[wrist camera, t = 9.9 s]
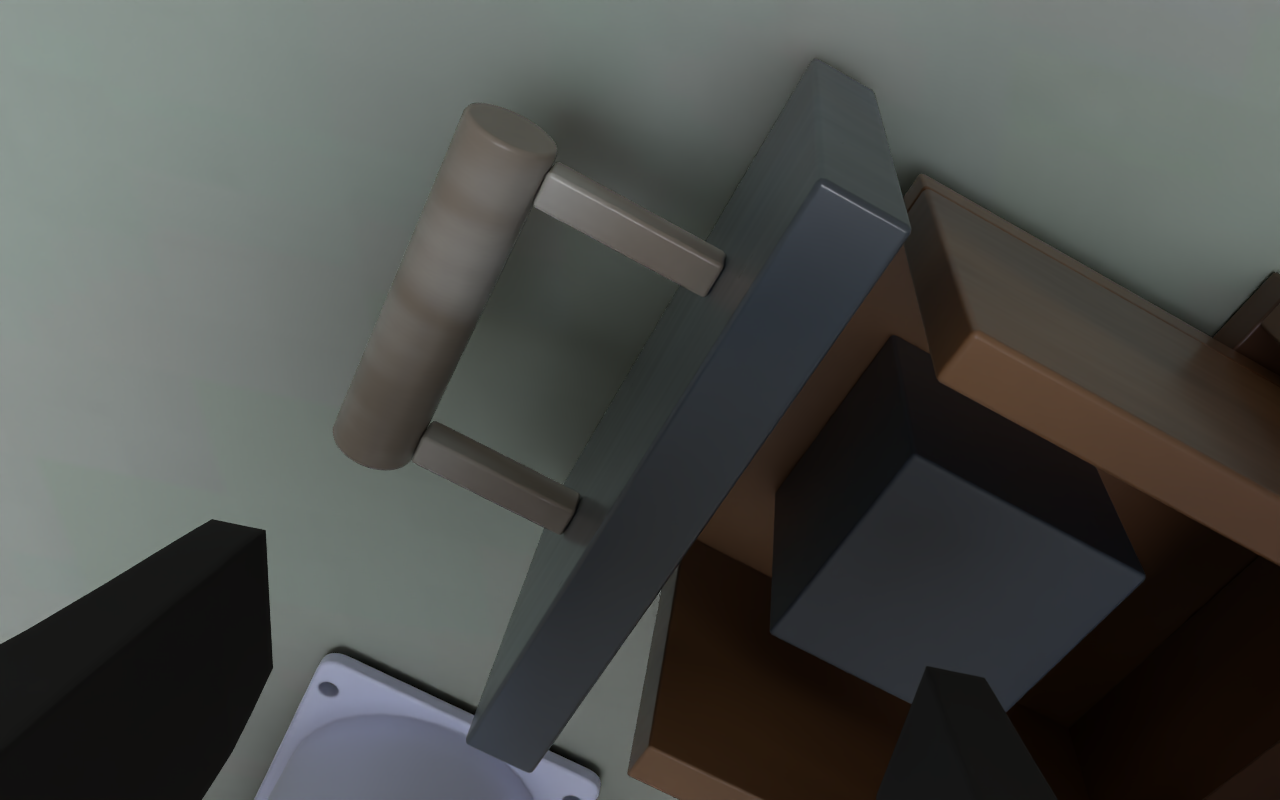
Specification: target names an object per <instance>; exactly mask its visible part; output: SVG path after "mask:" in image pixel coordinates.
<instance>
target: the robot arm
mask: <svg viewBox="0 0 1280 800" xmlns="http://www.w3.org/2000/svg"><path fill="white" fill-rule="evenodd" d="M272 669H273V659H272V640H271V622H270V603H269V584H268V565H267V546H266V530H262V529H257V528H252V527H247V526H242V525H237V524H232V523H228V522H223V521H218V520H213V519H212V520H210V521H208V522H207V523H205V524H203V525H201V526H200V527H198V528H196V529H194V530H193V531H191V532H189V533H188V534H186V535H184V536H183V537H181V538H179V539H178V540H176V541H174V542H173V543H171V544H169V545H168V546H166V547H164V548H163V549H161V550H159V551H158V552H156V553H155V554H153V555H151V556H150V557H148V558H146V559H145V560H143V561H142V562H140V563H138V564H137V565H135V566H133V567H132V568H130V569H128V570H127V571H125V572H124V573H122V574H120V575H119V576H117V577H115V578H114V579H112V580H110V581H109V582H107V583H106V584H104V585H102V586H100V587H99V588H97V589H95V590H94V591H92V592H90V593H89V594H87V595H85V596H84V597H82V598H80V599H79V600H77V601H75V602H73V603H72V604H70V605H68V606H67V607H65V608H63V609H62V610H60V611H58V612H57V613H55V614H53V615H52V616H50V617H48V618H46V619H45V620H43V621H41V622H40V623H38V624H36V625H35V626H33V627H31V628H29V629H28V630H26V631H24V632H22V633H20V634H19V635H17V636H15V637H13V638H11V639H9V640H7V641H6V642H4V643H2V644H0V800H202V799H203V797H204V796H205V794H206V792H207V791H208V789H209V788H210V786H211V785H212V783H213V782H214V780H215V778H216V777H217V775H218V774H219V772H220V771H221V769H222V767H223V766H224V764H225V763H226V761H227V759H228V758H229V756H230V755H231V753H232V751H233V749H234V747H235V745H236V743H237V741H238V739H239V737H240V735H241V733H242V731H243V729H244V727H245V725H246V723H247V721H248V719H249V717H250V716H251V713H252V711H253V709H254V707H255V705H256V703H257V701H258V699H259V696H260V694H261V692H262V690H263V688H264V686H265V684H266V682H267V679H268V677H269V675H270V673H271V671H272ZM329 682H330V683H333V684H334V685H332V684H330V683H329ZM473 718H474V715H473V714H470V713H468V712H466V711H464V710H462V709H460V708H458V707H455V706H453V705H451V704H449V703H447V702H445V701H443V700H441V699H438V698H436V697H434V696H432V695H430V694H428V693H426V692H423V691H421V690H419V689H417V688H415V687H413V686H411V685H409V684H406V683H404V682H402V681H400V680H398V679H396V678H394V677H391V676H389V675H387V674H385V673H383V672H381V671H379V670H377V669H374V668H372V667H370V666H368V665H366V664H364V663H362V662H359V661H357V660H355V659H353V658H351V657H349V656H347V655H344V654H340V653H330V654H328V655H326V656H325V657H324V658H323V659H322V660H321V662H320V664H319V666H318V667H317V669H316V671H315V673H314V676H313V678H312V680H311V682H310V684H309V686H308V688H307V690H306V692H305V694H304V696H303V699H302V701H301V703H300V705H299V707H298V709H297V711H296V713H295V715H294V717H293V719H292V722H291V724H290V726H289V728H288V730H287V732H286V734H285V736H284V738H283V740H282V742H281V744H280V747H279V749H278V751H277V753H276V755H275V757H274V759H273V761H272V763H271V765H270V767H269V770H268V772H267V774H266V776H265V778H264V780H263V782H262V784H261V786H260V788H259V790H258V793H257V795H256V797H255V799H254V800H596V799H597V798H598V795H599V792H600V787H601V781H600V778H599V777H598V775H597V774H596V773H594V772H593V771H591V770H590V769H588V768H586V767H583V766H581V765H579V764H577V763H575V762H573V761H571V760H568V759H566V758H564V757H562V756H560V755H558V754H556V753H554V752H551V751H549V750H548V751H547V753H546V754H545V756H544V757H543V758H542V760H541V761H540V763H539V764H538V766H537V767H536V768H535V770H534V771H533V772H532V773H527V772H525V771H523V770H521V769H518V768H516V767H514V766H512V765H510V764H508V763H506V762H503V761H501V760H499V759H497V758H495V757H493V756H490V755H488V754H486V753H484V752H482V751H480V750H478V749H475V748H473V747H471V746H469V745H468V744H467V743H466V737H467V734H468V731H469V729H470V726H471V723H472V720H473ZM571 795H572V796H571ZM574 796H576V797H574ZM876 800H1058V799H1057V798H1056V796H1055V794H1054V793H1053V791H1052V789H1051V788H1050V786H1049V784H1048V783H1047V781H1046V779H1045V778H1044V776H1043V774H1042V773H1041V771H1040V769H1039V768H1038V766H1037V764H1036V763H1035V761H1034V759H1033V758H1032V756H1031V754H1030V753H1029V751H1028V749H1027V748H1026V746H1025V744H1024V743H1023V741H1022V739H1021V737H1020V736H1019V734H1018V732H1017V731H1016V729H1015V727H1014V726H1013V724H1012V722H1011V720H1010V719H1009V717H1008V715H1007V714H1006V712H1005V710H1004V709H1003V707H1002V705H1001V703H1000V702H999V700H998V698H997V697H996V695H995V693H994V692H993V690H992V688H991V687H990V685H989V684H988V682H987V681H986V679H985V678H983V677H978V676H974V675H969V674H964V673H959V672H954V671H949V670H944V669H939V668H935V667H930V666H926V668H925V671H924V674H923V676H922V679H921V681H920V684H919V687H918V689H917V692H916V694H915V697H914V699H913V702H912V705H911V707H910V710H909V712H908V715H907V717H906V720H905V723H904V725H903V728H902V730H901V733H900V736H899V738H898V741H897V743H896V746H895V748H894V751H893V754H892V756H891V759H890V761H889V764H888V766H887V769H886V772H885V774H884V777H883V779H882V782H881V784H880V787H879V790H878V792H877V795H876Z"/></svg>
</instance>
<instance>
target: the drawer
mask: <svg viewBox="0 0 1280 800" xmlns="http://www.w3.org/2000/svg"><path fill="white" fill-rule="evenodd" d="M556 156H557V146H556V144H555V142H554V140H553V139H552V138H551V137H550V136H549V135H548V134H547V133H546V132H545V131H544V130H543V129H541V128H540V127H539V126H537V125H536V124H535V123H533V122H532V121H530V120H528V119H527V118H525V117H523V116H521V115H519V114H517V113H515V112H513V111H510V110H508V109H505V108H502V107H499V106H496V105H492V104H486V103H472V104H470V105H468V106H467V107H466V108H465V109H464V111H463V113H462V116H461V118H460V121H459V123H458V125H457V128H456V130H455V133H454V135H453V138H452V140H451V142H450V145H449V147H448V150H447V152H446V155H445V157H444V159H443V162H442V164H441V167H440V169H439V171H438V174H437V176H436V179H435V181H434V184H433V186H432V188H431V191H430V193H429V196H428V198H427V200H426V203H425V205H424V208H423V210H422V213H421V215H420V217H419V220H418V222H417V225H416V227H415V229H414V232H413V234H412V237H411V239H410V242H409V244H408V246H407V249H406V251H405V254H404V256H403V258H402V261H401V263H400V266H399V268H398V271H397V273H396V275H395V278H394V280H393V283H392V285H391V287H390V290H389V292H388V295H387V297H386V300H385V302H384V304H383V307H382V309H381V312H380V314H379V316H378V319H377V321H376V324H375V326H374V329H373V331H372V333H371V336H370V338H369V341H368V343H367V345H366V348H365V350H364V353H363V355H362V358H361V360H360V362H359V365H358V367H357V370H356V372H355V374H354V377H353V379H352V382H351V384H350V387H349V389H348V391H347V394H346V396H345V399H344V401H343V403H342V406H341V408H340V411H339V413H338V416H337V418H336V420H335V423H334V426H333V437H334V440H335V443H336V445H337V446H338V448H339V449H340V450H341V451H342V452H343V453H344V454H345V455H346V456H347V457H348V458H350V459H351V460H353V461H354V462H356V463H358V464H360V465H363V466H365V467H368V468H372V469H377V470H395V469H399V468H401V467H403V466H405V465H406V464H408V463H409V462H410V461H411V460H412V462H414V463H415V464H417V465H419V466H421V467H423V468H425V469H427V470H429V471H431V472H433V473H435V474H437V475H439V476H441V477H443V478H445V479H447V480H449V481H451V482H453V483H455V484H457V485H459V486H461V487H463V488H465V489H467V490H469V491H471V492H473V493H475V494H477V495H479V496H481V497H483V498H485V499H487V500H489V501H491V502H493V503H495V504H497V505H499V506H501V507H503V508H505V509H507V510H509V511H511V512H514V513H516V514H518V515H520V516H522V517H524V518H526V519H528V520H530V521H532V522H534V523H536V524H538V525H540V526H542V527H544V529H543V532H542V535H541V537H540V540H539V543H538V546H537V548H536V551H535V554H534V556H533V559H532V562H531V564H530V567H529V570H528V572H527V575H526V578H525V581H524V583H523V586H522V589H521V591H520V594H519V597H518V599H517V602H516V605H515V607H514V610H513V613H512V616H511V618H510V621H509V624H508V626H507V629H506V632H505V634H504V637H503V640H502V642H501V645H500V648H499V651H498V653H497V656H496V659H495V661H494V664H493V667H492V669H491V672H490V675H489V677H488V680H487V683H486V686H485V688H484V691H483V694H482V696H481V699H480V702H479V704H478V707H477V710H476V712H475V715H474V718H473V720H472V723H471V726H470V729H469V731H468V734H467V737H466V743H467V744H468V745H469V746H471V747H473V748H475V749H478V750H480V751H482V752H484V753H486V754H488V755H490V756H493V757H495V758H497V759H499V760H501V761H503V762H506V763H508V764H510V765H512V766H514V767H516V768H518V769H521V770H523V771H525V772H527V773H532V772H533V771H534V770H535V768H536V767H537V766H538V764H539V763H540V761H541V760H542V758H543V757H544V756H545V754H546V753H547V751H548V750H549V748H550V747H551V746H552V744H553V743H554V741H555V740H556V738H557V737H558V736H559V734H560V733H561V731H562V730H563V728H564V727H565V726H566V724H567V723H568V721H569V720H570V718H571V717H572V716H573V714H574V713H575V711H576V710H577V709H578V707H579V706H580V704H581V703H582V701H583V700H584V699H585V697H586V696H587V694H588V693H589V691H590V690H591V689H592V687H593V686H594V684H595V683H596V681H597V680H598V679H599V677H600V676H601V674H602V673H603V671H604V670H605V669H606V667H607V666H608V664H609V663H610V662H611V660H612V659H613V657H614V656H615V654H616V653H617V652H618V650H619V649H620V647H621V646H622V644H623V643H624V642H625V640H626V639H627V637H628V636H629V634H630V633H631V632H632V630H633V629H634V627H635V626H636V624H637V623H638V622H639V620H640V619H641V617H642V616H643V614H644V613H645V612H646V610H647V609H648V607H649V606H650V605H651V603H652V602H653V600H654V599H655V597H656V596H657V595H658V593H659V592H660V590H661V589H662V590H661V595H660V600H659V606H658V611H657V616H656V622H655V627H654V632H653V638H652V643H651V649H650V654H649V659H648V665H647V670H646V675H645V681H644V686H643V691H642V697H641V702H640V708H639V713H638V718H637V724H636V729H635V734H634V740H633V745H632V750H631V756H630V761H629V767H628V772H627V774H628V775H629V776H630V777H632V778H634V779H637V780H639V781H641V782H643V783H645V784H647V785H649V786H652V787H654V788H656V789H658V790H660V791H662V792H664V793H666V794H669V795H671V796H673V797H675V798H677V799H679V800H876V795H877V792H878V790H879V787H880V784H881V782H882V779H883V777H884V774H885V772H886V769H887V766H888V764H889V761H890V759H891V756H892V754H893V751H894V748H895V746H896V743H897V741H898V738H899V736H900V733H901V730H902V728H903V725H904V723H905V720H906V717H907V715H908V712H909V710H910V707H911V705H912V704H910V703H908V702H906V701H904V700H902V699H900V698H898V697H896V696H894V695H892V694H890V693H888V692H886V691H884V690H882V689H880V688H878V687H876V686H874V685H872V684H870V683H868V682H866V681H863V680H861V679H859V678H857V677H855V676H853V675H851V674H849V673H847V672H845V671H843V670H841V669H839V668H837V667H835V666H833V665H831V664H829V663H827V662H825V661H823V660H821V659H819V658H817V657H815V656H813V655H811V654H809V653H807V652H805V651H803V650H801V649H799V648H797V647H795V646H793V645H791V644H789V643H787V642H785V641H783V640H781V639H779V638H777V637H775V636H773V635H772V634H771V633H770V610H771V586H772V562H773V538H774V514H775V494H776V492H777V491H778V489H779V488H780V487H781V485H782V484H783V483H784V481H785V480H786V478H787V477H788V476H789V474H790V473H791V472H792V470H793V469H794V468H795V466H796V465H797V463H798V462H799V461H800V459H801V458H802V457H803V455H804V454H805V453H806V451H807V450H808V448H809V447H810V446H811V444H812V443H813V442H814V440H815V439H816V438H817V436H818V435H819V433H820V432H821V431H822V429H823V428H824V427H825V425H826V424H827V423H828V421H829V420H830V419H831V417H832V416H833V414H834V413H835V412H836V410H837V409H838V408H839V406H840V405H841V404H842V402H843V401H844V399H845V398H846V397H847V395H848V394H849V393H850V391H851V390H852V389H853V387H854V386H855V384H856V383H857V382H858V380H859V379H860V378H861V376H862V375H863V374H864V372H865V371H866V369H867V368H868V367H869V365H870V364H871V363H872V361H873V360H874V359H875V357H876V356H877V354H878V353H879V352H880V350H881V349H882V348H883V346H884V345H885V344H886V342H887V341H888V339H889V338H890V337H891V336H892V335H895V336H897V337H899V338H901V339H903V340H905V341H907V342H908V343H910V344H912V345H914V346H916V347H918V348H919V349H921V350H923V351H925V352H927V353H929V354H930V355H931V359H932V363H933V367H934V371H935V375H936V378H937V380H938V381H939V382H940V383H942V384H944V385H946V386H947V387H949V388H951V389H953V390H955V391H957V392H959V393H960V394H962V395H964V396H966V397H968V398H970V399H971V400H973V401H975V402H977V403H979V404H981V405H983V406H984V407H986V408H988V409H990V410H992V411H994V412H995V413H997V414H999V415H1001V416H1003V417H1005V418H1007V419H1008V420H1010V421H1012V422H1014V423H1016V424H1018V425H1019V426H1021V427H1023V428H1025V429H1027V430H1029V431H1031V432H1032V433H1034V434H1036V435H1038V436H1040V437H1042V438H1043V439H1045V440H1047V441H1049V442H1051V443H1053V444H1055V445H1056V446H1058V447H1060V448H1062V449H1064V450H1066V451H1067V452H1069V453H1071V454H1073V455H1075V456H1077V457H1079V458H1080V459H1082V460H1084V461H1086V462H1088V463H1090V464H1091V465H1093V466H1095V467H1096V468H1097V470H1098V473H1099V475H1100V477H1101V479H1102V481H1103V483H1104V486H1105V488H1106V490H1107V492H1108V494H1109V496H1110V499H1111V501H1112V503H1113V505H1114V507H1115V509H1116V512H1117V514H1118V516H1119V518H1120V520H1121V522H1122V525H1123V527H1124V529H1125V531H1126V533H1127V535H1128V538H1129V540H1130V542H1131V544H1132V546H1133V548H1134V551H1135V553H1136V555H1137V557H1138V559H1139V561H1140V564H1141V566H1142V568H1143V570H1144V572H1145V574H1146V578H1145V580H1144V581H1143V582H1142V583H1141V584H1140V585H1139V586H1138V587H1137V588H1136V589H1135V590H1134V591H1133V592H1132V593H1131V594H1130V595H1129V596H1128V597H1127V598H1126V599H1125V600H1123V601H1122V602H1121V603H1120V604H1119V605H1118V606H1117V607H1116V608H1115V609H1114V610H1113V611H1112V612H1111V613H1110V614H1109V615H1108V616H1107V617H1106V618H1105V619H1104V620H1103V621H1101V622H1100V623H1099V624H1098V625H1097V626H1096V627H1095V628H1094V629H1093V630H1092V631H1091V632H1090V633H1089V634H1088V635H1087V636H1086V637H1085V638H1084V639H1083V640H1082V641H1081V642H1079V643H1078V644H1077V645H1076V646H1075V647H1074V648H1073V649H1072V650H1071V651H1070V652H1069V653H1068V654H1067V655H1066V656H1065V657H1064V658H1063V659H1062V660H1061V661H1060V662H1059V663H1057V664H1056V665H1055V666H1054V667H1053V668H1052V669H1051V670H1050V671H1049V672H1048V673H1047V674H1046V675H1045V676H1044V677H1043V678H1042V679H1041V680H1040V681H1039V682H1038V683H1037V684H1035V685H1034V686H1033V687H1032V688H1031V689H1030V690H1029V691H1028V692H1027V693H1026V694H1025V695H1024V696H1023V697H1022V698H1021V699H1020V700H1019V701H1018V702H1017V703H1016V704H1015V705H1013V706H1012V707H1011V708H1010V709H1009V710H1008V711H1007V712H1006V714H1007V715H1008V717H1009V719H1010V720H1011V722H1012V724H1013V726H1014V727H1015V729H1016V731H1017V732H1018V734H1019V736H1020V737H1021V739H1022V741H1023V743H1024V744H1025V746H1026V748H1027V749H1028V751H1029V753H1030V754H1031V756H1032V758H1033V759H1034V761H1035V763H1036V764H1037V766H1038V768H1039V769H1040V771H1041V773H1042V774H1043V776H1044V778H1045V779H1046V781H1047V783H1048V784H1049V786H1050V788H1051V789H1052V791H1053V793H1054V794H1055V796H1056V798H1057V799H1058V800H1202V799H1204V798H1205V797H1206V796H1208V795H1209V794H1210V793H1212V792H1213V791H1214V790H1215V789H1217V788H1218V787H1219V786H1221V785H1222V784H1223V783H1224V782H1226V781H1227V780H1228V779H1230V778H1231V777H1232V776H1234V775H1235V774H1236V773H1237V772H1239V771H1240V770H1241V769H1243V768H1244V767H1245V766H1247V765H1248V764H1249V763H1250V762H1252V761H1253V760H1254V759H1256V758H1257V757H1258V756H1259V755H1261V754H1262V753H1263V752H1265V751H1266V750H1267V749H1269V748H1270V747H1271V746H1272V745H1274V744H1275V743H1276V742H1278V741H1279V740H1280V376H1279V375H1277V374H1275V373H1274V372H1272V371H1270V370H1268V369H1266V368H1265V367H1263V366H1261V365H1259V364H1258V363H1256V362H1254V361H1252V360H1251V359H1249V358H1247V357H1245V356H1244V355H1242V354H1240V353H1238V352H1237V351H1235V350H1233V349H1231V348H1229V347H1228V346H1226V345H1224V344H1222V343H1221V342H1219V341H1217V340H1215V339H1214V338H1212V337H1210V336H1208V335H1207V334H1205V333H1203V332H1201V331H1200V330H1198V329H1196V328H1194V327H1192V326H1191V325H1189V324H1187V323H1185V322H1184V321H1182V320H1180V319H1178V318H1177V317H1175V316H1173V315H1171V314H1170V313H1168V312H1166V311H1164V310H1163V309H1161V308H1159V307H1157V306H1156V305H1154V304H1152V303H1150V302H1148V301H1147V300H1145V299H1143V298H1141V297H1140V296H1138V295H1136V294H1134V293H1133V292H1131V291H1129V290H1127V289H1126V288H1124V287H1122V286H1120V285H1119V284H1117V283H1115V282H1113V281H1111V280H1110V279H1108V278H1106V277H1104V276H1103V275H1101V274H1099V273H1097V272H1096V271H1094V270H1092V269H1090V268H1089V267H1087V266H1085V265H1083V264H1082V263H1080V262H1078V261H1076V260H1075V259H1073V258H1071V257H1069V256H1067V255H1066V254H1064V253H1062V252H1060V251H1059V250H1057V249H1055V248H1053V247H1052V246H1050V245H1048V244H1046V243H1045V242H1043V241H1041V240H1039V239H1038V238H1036V237H1034V236H1032V235H1030V234H1029V233H1027V232H1025V231H1023V230H1022V229H1020V228H1018V227H1016V226H1015V225H1013V224H1011V223H1009V222H1008V221H1006V220H1004V219H1002V218H1001V217H999V216H997V215H995V214H994V213H992V212H990V211H988V210H986V209H985V208H983V207H981V206H979V205H978V204H976V203H974V202H972V201H971V200H969V199H967V198H965V197H964V196H962V195H960V194H958V193H957V192H955V191H953V190H951V189H949V188H948V187H946V186H944V185H942V184H941V183H939V182H937V181H935V180H934V179H932V178H930V177H928V176H927V175H925V174H920V175H918V177H917V178H916V180H915V181H914V182H913V184H912V185H911V187H910V188H909V190H908V191H907V193H906V194H905V196H904V197H903V195H902V191H901V188H900V184H899V181H898V177H897V173H896V170H895V166H894V162H893V159H892V155H891V151H890V148H889V144H888V141H887V137H886V133H885V130H884V126H883V122H882V119H881V115H880V111H879V108H878V104H877V100H876V97H875V93H874V92H873V90H871V89H869V88H868V87H866V86H864V85H862V84H861V83H859V82H857V81H856V80H854V79H852V78H850V77H849V76H847V75H845V74H843V73H842V72H840V71H838V70H836V69H835V68H833V67H831V66H829V65H828V64H826V63H824V62H822V61H821V60H819V59H813V60H812V61H811V62H810V64H809V66H808V67H807V69H806V71H805V72H804V74H803V76H802V78H801V79H800V81H799V83H798V84H797V86H796V88H795V90H794V91H793V93H792V95H791V96H790V98H789V100H788V102H787V103H786V105H785V107H784V108H783V110H782V112H781V113H780V115H779V117H778V119H777V120H776V122H775V124H774V125H773V127H772V129H771V131H770V132H769V134H768V136H767V137H766V139H765V141H764V142H763V144H762V146H761V148H760V149H759V151H758V153H757V154H756V156H755V158H754V160H753V161H752V163H751V165H750V166H749V168H748V170H747V172H746V173H745V175H744V177H743V178H742V180H741V182H740V183H739V185H738V187H737V189H736V190H735V192H734V194H733V195H732V197H731V199H730V201H729V202H728V204H727V206H726V207H725V209H724V211H723V212H722V214H721V216H720V218H719V219H718V221H717V223H716V224H715V226H714V228H713V230H712V231H711V233H710V235H709V236H708V238H707V240H706V241H704V240H702V239H700V238H698V237H696V236H695V235H693V234H691V233H689V232H687V231H685V230H683V229H682V228H680V227H678V226H676V225H674V224H672V223H671V222H669V221H667V220H665V219H663V218H661V217H660V216H658V215H656V214H654V213H652V212H650V211H648V210H647V209H645V208H643V207H641V206H639V205H637V204H636V203H634V202H632V201H630V200H628V199H626V198H625V197H623V196H621V195H619V194H617V193H615V192H614V191H612V190H610V189H608V188H606V187H604V186H602V185H601V184H599V183H597V182H595V181H593V180H591V179H590V178H588V177H586V176H584V175H582V174H580V173H579V172H577V171H575V170H573V169H571V168H569V167H568V166H566V165H564V164H562V163H559V162H556V163H555V164H554V165H553V162H554V160H555V158H556ZM552 165H553V166H552ZM551 167H552V168H551ZM533 205H534V206H535V207H536V208H537V209H539V210H541V211H542V212H544V213H546V214H548V215H550V216H552V217H554V218H556V219H557V220H559V221H561V222H563V223H565V224H567V225H569V226H570V227H572V228H574V229H576V230H578V231H580V232H582V233H583V234H585V235H587V236H589V237H591V238H593V239H595V240H597V241H598V242H600V243H602V244H604V245H606V246H608V247H610V248H611V249H613V250H615V251H617V252H619V253H621V254H623V255H625V256H626V257H628V258H630V259H632V260H634V261H636V262H638V263H639V264H641V265H643V266H645V267H647V268H649V269H651V270H653V271H654V272H656V273H658V274H660V275H662V276H664V277H666V278H667V279H669V280H671V281H673V282H675V283H677V284H679V285H680V286H679V288H678V289H677V291H676V293H675V294H674V296H673V298H672V300H671V301H670V303H669V305H668V306H667V308H666V310H665V311H664V313H663V315H662V317H661V318H660V320H659V322H658V323H657V325H656V327H655V329H654V330H653V332H652V334H651V335H650V337H649V339H648V341H647V342H646V344H645V346H644V347H643V349H642V351H641V352H640V354H639V356H638V358H637V359H636V361H635V363H634V364H633V366H632V368H631V370H630V371H629V373H628V375H627V376H626V378H625V380H624V381H623V383H622V385H621V387H620V388H619V390H618V392H617V393H616V395H615V397H614V399H613V400H612V402H611V404H610V405H609V407H608V409H607V411H606V412H605V414H604V416H603V417H602V419H601V421H600V422H599V424H598V426H597V428H596V429H595V431H594V433H593V434H592V436H591V438H590V440H589V441H588V443H587V445H586V446H585V448H584V450H583V451H582V453H581V455H580V457H579V458H578V460H577V462H576V463H575V465H574V467H573V469H572V470H571V472H570V474H569V475H568V477H567V479H566V481H565V482H564V484H563V485H562V484H560V483H558V482H556V481H554V480H552V479H550V478H548V477H546V476H544V475H542V474H540V473H538V472H536V471H534V470H532V469H530V468H528V467H526V466H524V465H522V464H520V463H518V462H516V461H514V460H512V459H510V458H508V457H506V456H504V455H503V454H501V453H499V452H497V451H495V450H493V449H491V448H489V447H487V446H485V445H483V444H481V443H479V442H477V441H475V440H473V439H471V438H469V437H467V436H465V435H463V434H461V433H459V432H457V431H455V430H453V429H451V428H449V427H447V426H445V425H443V424H441V423H439V422H437V421H433V422H432V423H430V421H431V419H432V417H433V415H434V413H435V411H436V409H437V406H438V404H439V402H440V400H441V398H442V396H443V394H444V392H445V390H446V387H447V385H448V383H449V381H450V379H451V377H452V375H453V373H454V371H455V369H456V366H457V364H458V362H459V360H460V358H461V356H462V354H463V352H464V350H465V348H466V345H467V343H468V341H469V339H470V337H471V335H472V333H473V331H474V329H475V327H476V324H477V322H478V320H479V318H480V316H481V314H482V312H483V310H484V308H485V305H486V303H487V301H488V299H489V297H490V295H491V293H492V291H493V289H494V287H495V284H496V282H497V280H498V278H499V276H500V274H501V272H502V270H503V268H504V266H505V263H506V261H507V259H508V257H509V255H510V253H511V251H512V249H513V247H514V244H515V242H516V240H517V238H518V236H519V234H520V232H521V230H522V228H523V226H524V223H525V221H526V219H527V217H528V215H529V213H530V211H531V209H532V207H533ZM429 423H430V425H429ZM428 425H429V426H428ZM427 427H428V428H427Z"/></svg>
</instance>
